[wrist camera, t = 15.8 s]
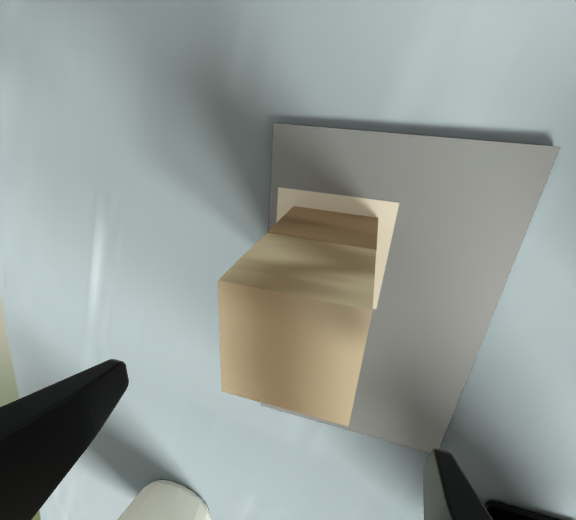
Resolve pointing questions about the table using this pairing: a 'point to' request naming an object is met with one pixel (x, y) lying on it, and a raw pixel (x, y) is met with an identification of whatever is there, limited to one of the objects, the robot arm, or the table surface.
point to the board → (417, 255)
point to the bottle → (166, 503)
